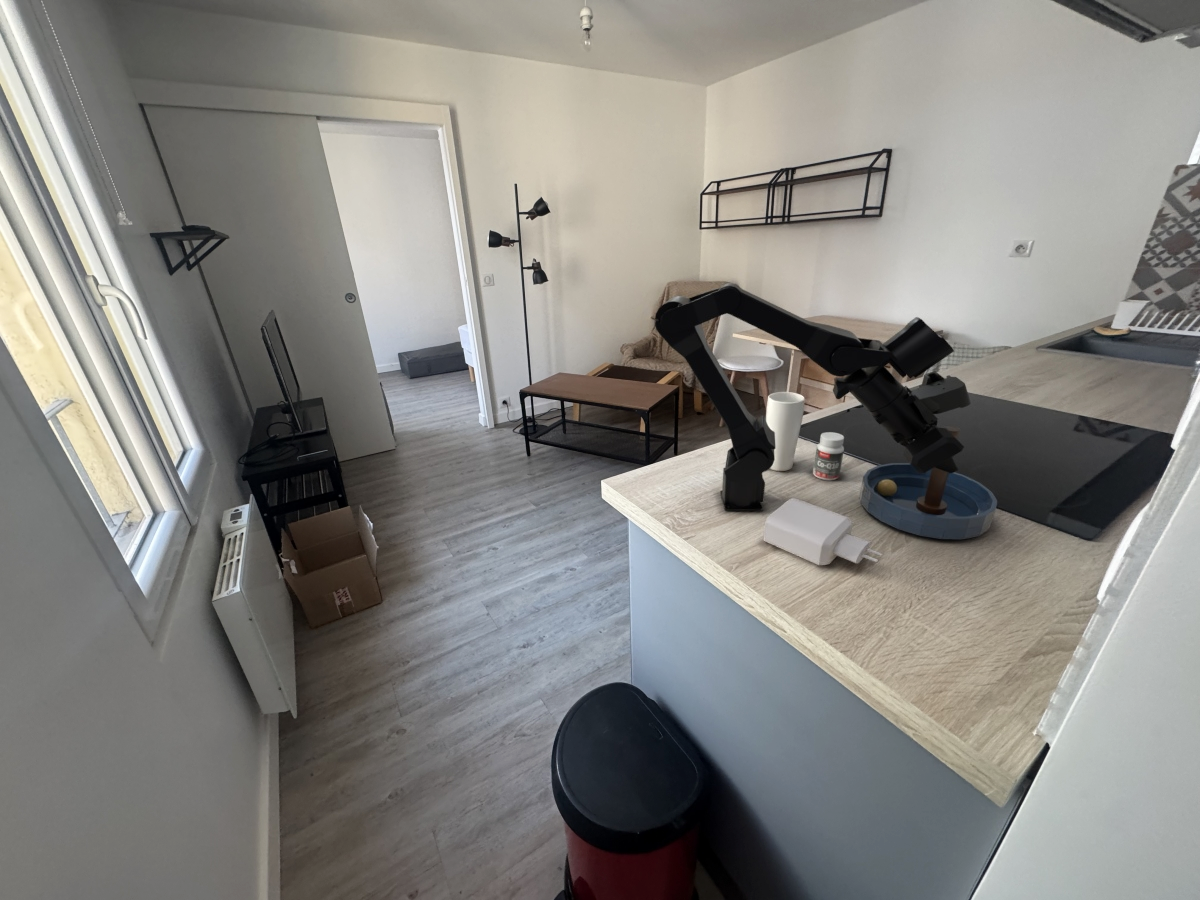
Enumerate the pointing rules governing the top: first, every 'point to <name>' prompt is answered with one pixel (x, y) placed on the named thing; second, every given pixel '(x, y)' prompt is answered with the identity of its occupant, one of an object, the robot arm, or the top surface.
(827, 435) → the pill bottle
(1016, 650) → the top surface
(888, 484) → the bead
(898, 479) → the bowl
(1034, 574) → the top surface
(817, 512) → the charger
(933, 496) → the stirring stick
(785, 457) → the drinking glass
